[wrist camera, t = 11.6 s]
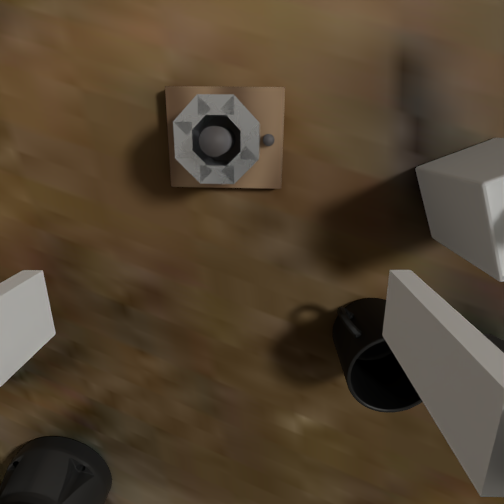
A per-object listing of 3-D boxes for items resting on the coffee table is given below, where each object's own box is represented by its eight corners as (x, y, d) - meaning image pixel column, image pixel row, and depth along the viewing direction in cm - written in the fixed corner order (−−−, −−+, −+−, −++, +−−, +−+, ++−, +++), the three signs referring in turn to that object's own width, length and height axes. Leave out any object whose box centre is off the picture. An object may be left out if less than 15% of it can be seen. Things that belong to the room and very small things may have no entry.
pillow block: (174, 184, 40) (145, 201, 31) (168, 87, 37) (135, 72, 28) (280, 186, 40) (284, 203, 30) (284, 88, 37) (290, 73, 27)
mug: (362, 267, 42) (386, 301, 34) (422, 331, 45) (459, 378, 36) (303, 315, 45) (311, 358, 36) (363, 373, 47) (384, 427, 39)
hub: (188, 176, 37) (176, 183, 32) (184, 99, 34) (171, 93, 30) (259, 177, 37) (258, 184, 32) (260, 99, 34) (259, 94, 29)
